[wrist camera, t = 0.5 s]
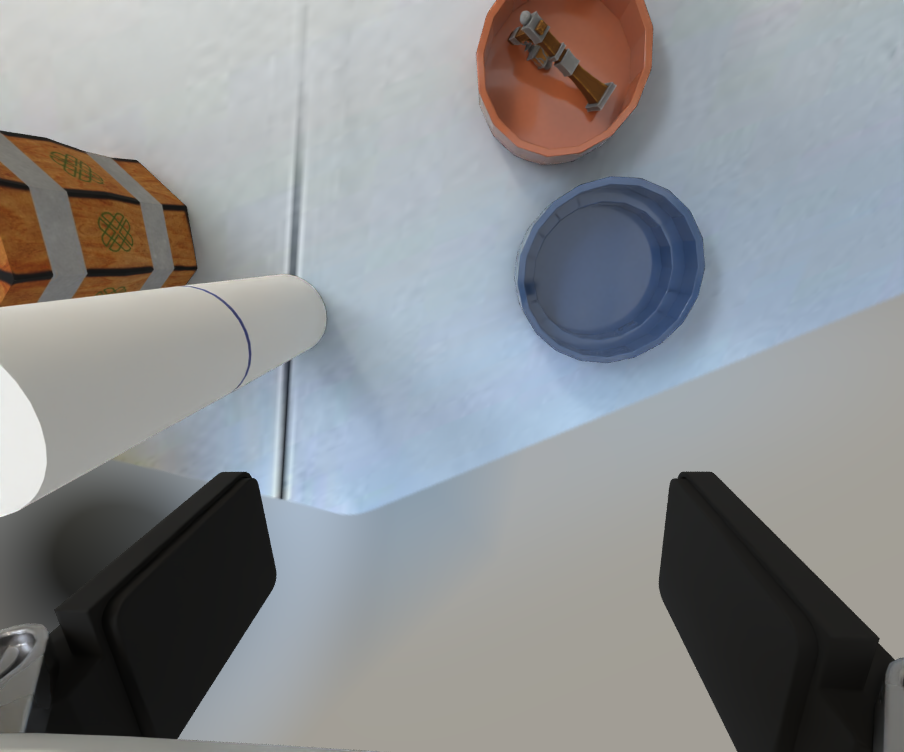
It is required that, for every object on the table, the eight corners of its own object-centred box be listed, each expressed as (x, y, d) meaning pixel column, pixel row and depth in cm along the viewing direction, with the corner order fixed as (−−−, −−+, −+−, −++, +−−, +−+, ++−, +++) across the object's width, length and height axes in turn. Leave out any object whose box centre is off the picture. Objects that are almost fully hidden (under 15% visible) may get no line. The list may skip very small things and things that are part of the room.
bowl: (594, 148, 32) (611, 133, 28) (712, 262, 33) (744, 263, 29) (482, 281, 35) (481, 286, 31) (593, 378, 37) (607, 395, 33)
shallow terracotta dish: (553, -58, 29) (561, -94, 25) (670, 63, 30) (691, 42, 27) (447, 93, 32) (442, 77, 29) (557, 196, 33) (564, 191, 30)
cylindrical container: (342, 312, 37) (81, 423, 13) (297, 368, 39) (-1, 553, 15) (278, 256, 36) (-125, 270, 12) (235, 317, 38) (-185, 428, 14)
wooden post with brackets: (506, 13, 29) (535, -6, 25) (583, 91, 33) (619, 84, 29) (492, 40, 29) (518, 25, 26) (570, 113, 33) (602, 110, 29)
